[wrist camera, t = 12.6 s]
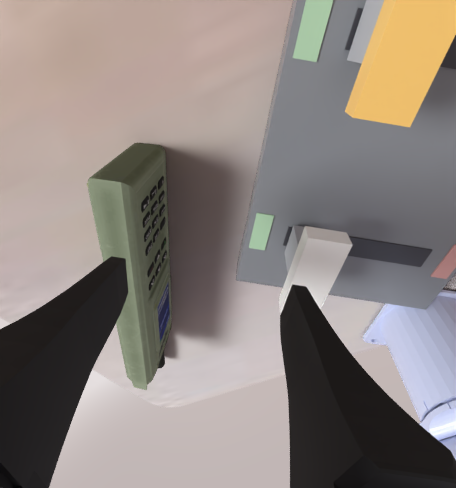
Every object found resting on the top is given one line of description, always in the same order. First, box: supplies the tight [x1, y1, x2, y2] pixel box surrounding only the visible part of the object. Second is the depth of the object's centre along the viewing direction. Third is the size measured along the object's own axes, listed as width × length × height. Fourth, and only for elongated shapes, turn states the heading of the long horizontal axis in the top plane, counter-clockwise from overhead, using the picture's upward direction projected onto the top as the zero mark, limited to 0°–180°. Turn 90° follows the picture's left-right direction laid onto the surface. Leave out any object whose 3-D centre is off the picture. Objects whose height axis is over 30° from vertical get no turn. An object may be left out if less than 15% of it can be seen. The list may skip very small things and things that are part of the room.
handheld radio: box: [87, 143, 172, 390], centre depth 24 cm, size 7×3×25 cm
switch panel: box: [236, 0, 456, 310], centre depth 18 cm, size 16×22×2 cm
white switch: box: [279, 225, 352, 313], centre depth 19 cm, size 2×6×4 cm, turn 172°
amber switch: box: [345, 0, 456, 127], centre depth 12 cm, size 2×6×4 cm, turn 172°
